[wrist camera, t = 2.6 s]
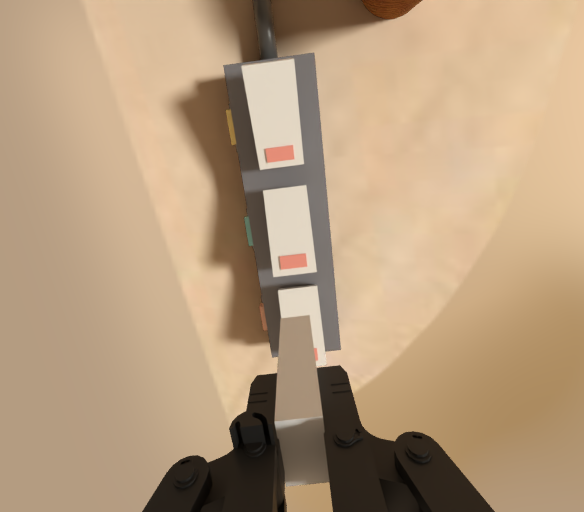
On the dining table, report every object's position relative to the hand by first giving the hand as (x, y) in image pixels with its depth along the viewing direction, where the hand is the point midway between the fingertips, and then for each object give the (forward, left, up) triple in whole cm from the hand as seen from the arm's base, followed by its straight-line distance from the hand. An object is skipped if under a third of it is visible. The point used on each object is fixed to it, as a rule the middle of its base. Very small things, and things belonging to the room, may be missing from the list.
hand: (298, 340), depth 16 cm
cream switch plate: (-3, 0, -14) cm, 15 cm away
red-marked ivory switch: (-13, 0, -14) cm, 19 cm away
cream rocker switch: (+7, 0, -14) cm, 16 cm away
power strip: (-6, 0, -20) cm, 21 cm away
